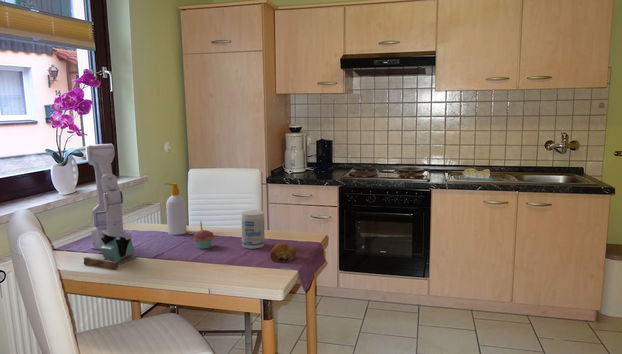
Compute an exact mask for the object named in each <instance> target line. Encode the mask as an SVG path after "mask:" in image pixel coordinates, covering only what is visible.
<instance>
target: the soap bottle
mask: <svg viewBox="0 0 622 354" xmlns="http://www.w3.org/2000/svg"><path fill="white" fill-rule="evenodd" d="M164 185H165V186H166V185H169V186H172V187H171V190H170V191H171V192H170V193H171V196H170V197H168V199H167V200H166V205H165V207H166V222H167V224H166V225H167V227H166V228H167V233H168V235H170V236H182V235H184V234H187V232H188V231H187V229H188V227H187V210H186V201H185V199H184V198H183V196H182V195H180V189H179V187H178V183H177V182H173V183H172V182H164Z"/></svg>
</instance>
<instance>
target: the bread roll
mask: <svg viewBox="0 0 622 354" xmlns="http://www.w3.org/2000/svg"><path fill="white" fill-rule="evenodd" d="M296 255H297V254H296V248H295V247H294V246H292V245H291V244H289V243H286V242H279V243H277V244H275V245H274V247H273V248H271V251H270V259H271V261H272V262H275V263H288V262H292V261H294V259H296Z"/></svg>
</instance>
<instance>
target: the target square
mask: <svg viewBox="0 0 622 354" xmlns="http://www.w3.org/2000/svg"><path fill="white" fill-rule="evenodd" d="M137 258H138V257H136V256H134V255H133V256H131V255H129V256H128V257H124V258H123V259H121V260H120V261H118V266H119V264H120V265H122V264H124V263H126V262H129V260H130V261H132V260H135V259H137ZM103 260H104V258H103Z"/></svg>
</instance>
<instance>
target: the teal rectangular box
mask: <svg viewBox="0 0 622 354" xmlns="http://www.w3.org/2000/svg"><path fill="white" fill-rule="evenodd" d="M118 239H120V238H117V237H116V238H115V239H113V240H112V241H110V242H109V243H107V244H105V245H104V246H102V247H101V250H100V251H101V254H102V257H103V259H104V260H109V261H115V262H118V261H120V260H121V259H123V258H124V257H126V256H127V255H128V254H131V253H132V252H135V249H134V244H133V242H132V239H131V240H130V242H129V244H128V246H127V250H126V255H125V256H123V257H120V254H119V248H118V245H117V243H116V240H118Z"/></svg>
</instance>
